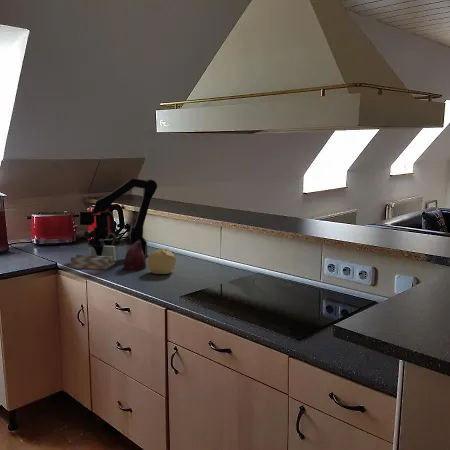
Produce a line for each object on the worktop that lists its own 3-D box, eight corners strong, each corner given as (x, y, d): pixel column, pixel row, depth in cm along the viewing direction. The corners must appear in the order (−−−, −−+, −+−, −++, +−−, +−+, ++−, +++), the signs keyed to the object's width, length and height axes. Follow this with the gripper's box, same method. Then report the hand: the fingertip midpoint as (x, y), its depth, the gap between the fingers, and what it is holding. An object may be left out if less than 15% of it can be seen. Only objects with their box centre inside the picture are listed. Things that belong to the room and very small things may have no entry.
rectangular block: (116, 259, 235) (115, 245, 234) (114, 261, 233) (113, 246, 232) (93, 258, 237) (92, 244, 236) (90, 259, 235) (90, 245, 234)
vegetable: (149, 274, 221) (157, 243, 219) (133, 276, 213) (142, 244, 210) (133, 265, 227) (141, 235, 224) (117, 266, 218) (125, 235, 215)
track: (114, 263, 227) (114, 255, 226) (105, 269, 217) (105, 260, 216) (79, 262, 230) (79, 253, 229) (68, 267, 220) (68, 258, 220)
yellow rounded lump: (179, 274, 208) (178, 250, 206) (151, 277, 203) (151, 252, 202) (172, 268, 218) (171, 245, 217) (145, 271, 214) (145, 247, 212)
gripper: (95, 221, 243) (96, 251, 245) (77, 227, 225) (78, 260, 227) (116, 222, 241) (117, 252, 243) (99, 228, 223) (100, 261, 225)
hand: (103, 256), depth 235 cm, fingers open, 9 cm apart
